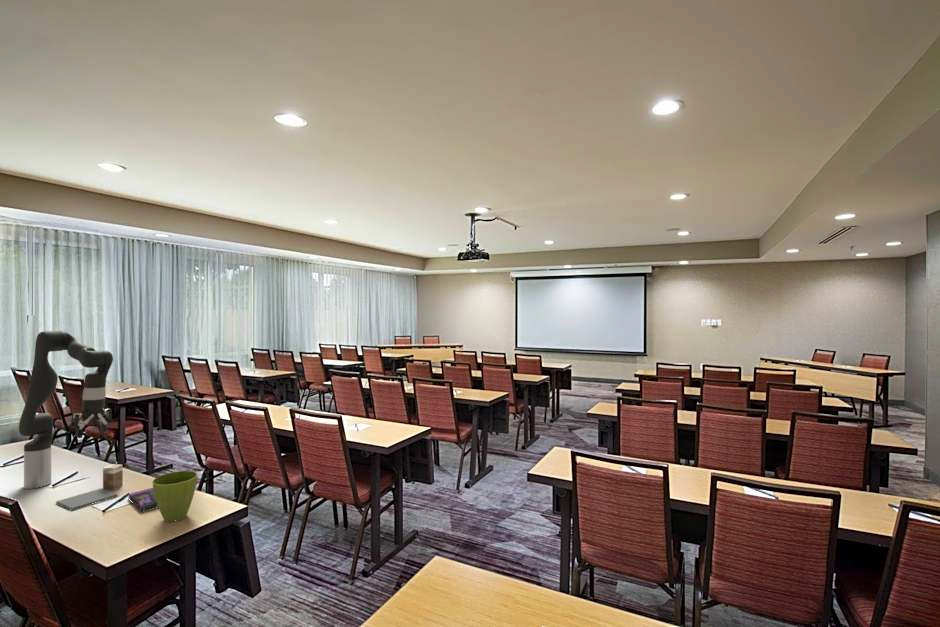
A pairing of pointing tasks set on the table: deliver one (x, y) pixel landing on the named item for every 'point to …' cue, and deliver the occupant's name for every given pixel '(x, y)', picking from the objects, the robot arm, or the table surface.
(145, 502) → the box
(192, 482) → the flower pot
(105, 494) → the mat
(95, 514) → the table surface
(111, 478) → the block
